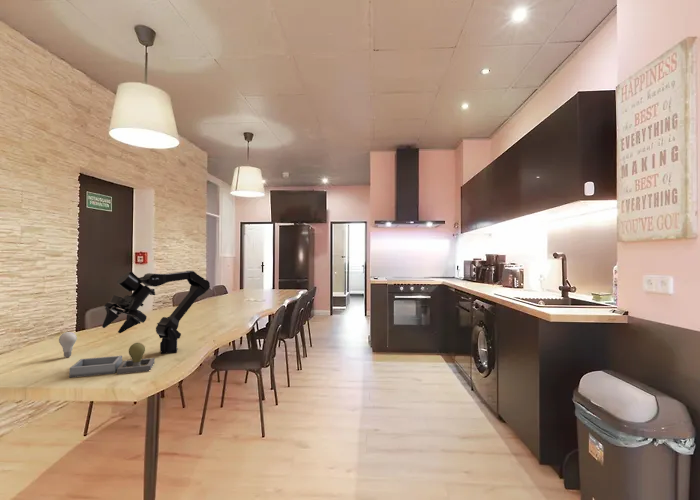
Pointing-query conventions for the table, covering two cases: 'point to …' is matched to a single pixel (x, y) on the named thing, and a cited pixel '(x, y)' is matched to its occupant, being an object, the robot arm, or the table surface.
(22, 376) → the table surface
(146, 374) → the table surface
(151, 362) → the socket collar
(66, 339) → the lightbulb
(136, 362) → the light bulb
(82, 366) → the parts tray
